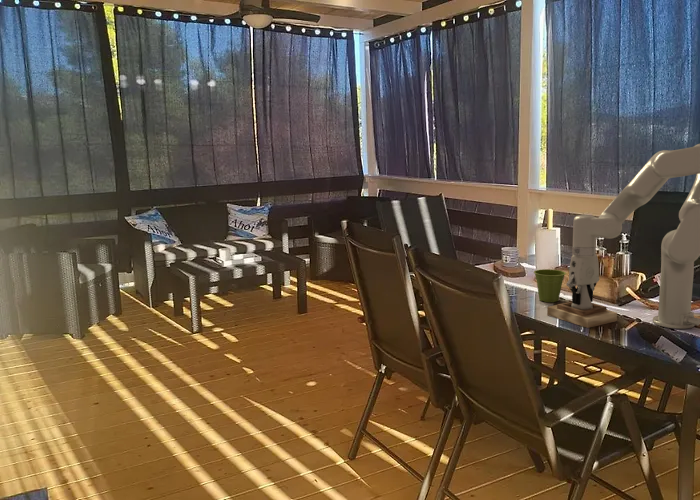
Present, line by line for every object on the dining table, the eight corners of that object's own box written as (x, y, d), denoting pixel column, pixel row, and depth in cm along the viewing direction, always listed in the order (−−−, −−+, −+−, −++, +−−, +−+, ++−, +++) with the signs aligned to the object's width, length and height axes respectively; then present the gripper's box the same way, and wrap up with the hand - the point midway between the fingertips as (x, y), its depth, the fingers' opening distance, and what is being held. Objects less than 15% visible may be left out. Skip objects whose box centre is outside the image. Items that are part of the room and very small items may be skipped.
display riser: (616, 321, 209) (617, 308, 209) (587, 327, 203) (588, 314, 202) (575, 309, 225) (575, 297, 224) (547, 314, 219) (547, 302, 218)
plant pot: (571, 303, 233) (572, 274, 231) (542, 305, 231) (543, 276, 229) (554, 295, 245) (555, 268, 243) (527, 297, 242) (528, 270, 240)
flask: (571, 309, 211) (572, 281, 209) (570, 304, 218) (571, 277, 216) (593, 310, 209) (595, 282, 207) (592, 305, 216) (593, 277, 214)
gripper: (574, 255, 203) (573, 308, 206) (610, 250, 210) (608, 301, 214) (557, 252, 209) (556, 303, 213) (592, 247, 217) (590, 296, 220)
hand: (582, 301), depth 213 cm, fingers closed on flask, 5 cm apart
